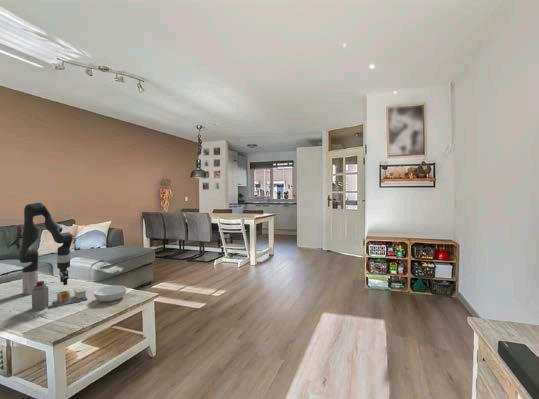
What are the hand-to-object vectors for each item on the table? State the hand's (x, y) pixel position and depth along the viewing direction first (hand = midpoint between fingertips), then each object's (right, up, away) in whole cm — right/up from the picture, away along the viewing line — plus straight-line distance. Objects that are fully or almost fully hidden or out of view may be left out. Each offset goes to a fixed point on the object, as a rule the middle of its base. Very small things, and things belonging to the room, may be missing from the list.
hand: (63, 283), depth 196 cm
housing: (+7, -12, +7) cm, 15 cm away
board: (+3, -14, +3) cm, 14 cm away
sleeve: (0, -12, 0) cm, 12 cm away
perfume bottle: (-8, -14, -10) cm, 19 cm away
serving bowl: (+29, -14, +7) cm, 33 cm away
